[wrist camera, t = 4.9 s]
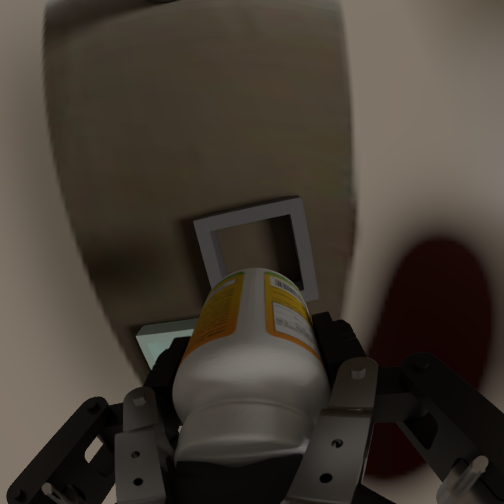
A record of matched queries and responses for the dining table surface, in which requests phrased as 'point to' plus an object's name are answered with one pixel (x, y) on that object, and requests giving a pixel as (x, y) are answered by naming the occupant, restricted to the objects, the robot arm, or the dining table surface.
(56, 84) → the dining table surface
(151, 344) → the tray
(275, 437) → the supplement bottle
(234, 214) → the socket collar
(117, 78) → the dining table surface
